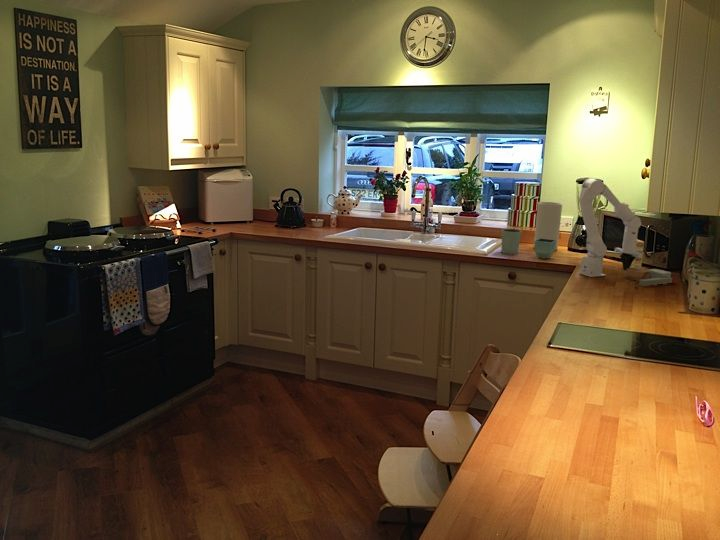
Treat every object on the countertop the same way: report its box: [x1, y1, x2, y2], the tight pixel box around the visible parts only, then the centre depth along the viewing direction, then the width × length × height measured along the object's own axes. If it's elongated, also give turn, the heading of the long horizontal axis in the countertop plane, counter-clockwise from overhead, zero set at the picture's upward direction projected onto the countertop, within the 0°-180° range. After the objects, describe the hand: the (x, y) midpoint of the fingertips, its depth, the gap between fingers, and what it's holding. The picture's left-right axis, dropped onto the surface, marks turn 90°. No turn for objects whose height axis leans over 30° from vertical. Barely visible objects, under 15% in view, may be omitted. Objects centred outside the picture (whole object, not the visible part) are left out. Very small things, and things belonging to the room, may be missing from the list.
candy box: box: [630, 238, 645, 269], centre depth 332 cm, size 9×4×15 cm, turn 8°
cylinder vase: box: [533, 201, 563, 252], centre depth 377 cm, size 12×12×25 cm
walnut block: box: [625, 268, 650, 282], centre depth 317 cm, size 6×8×4 cm
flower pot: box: [534, 238, 556, 259], centre depth 356 cm, size 9×9×9 cm
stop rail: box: [638, 277, 674, 287], centre depth 308 cm, size 18×2×2 cm, turn 117°
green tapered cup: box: [501, 228, 522, 255], centre depth 364 cm, size 10×10×12 cm
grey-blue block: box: [646, 268, 672, 279], centre depth 316 cm, size 6×8×4 cm
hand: (626, 270), depth 323 cm, fingers closed
